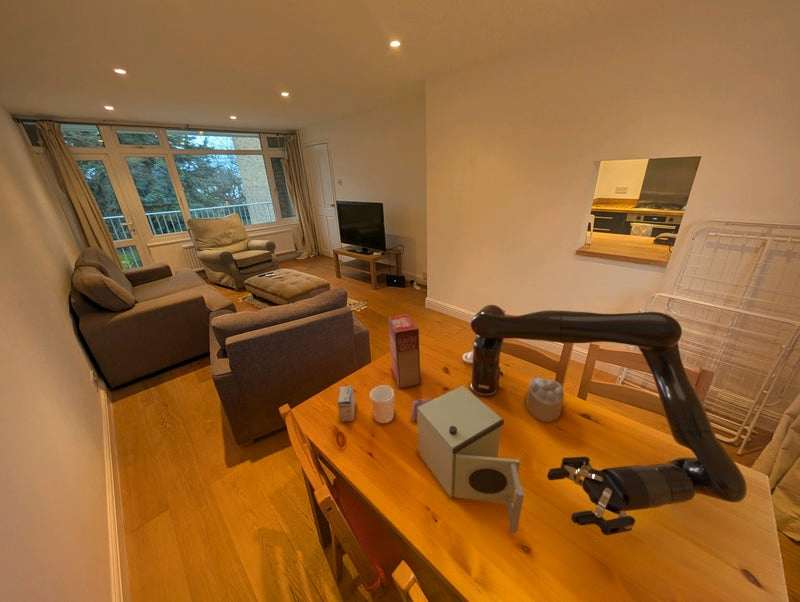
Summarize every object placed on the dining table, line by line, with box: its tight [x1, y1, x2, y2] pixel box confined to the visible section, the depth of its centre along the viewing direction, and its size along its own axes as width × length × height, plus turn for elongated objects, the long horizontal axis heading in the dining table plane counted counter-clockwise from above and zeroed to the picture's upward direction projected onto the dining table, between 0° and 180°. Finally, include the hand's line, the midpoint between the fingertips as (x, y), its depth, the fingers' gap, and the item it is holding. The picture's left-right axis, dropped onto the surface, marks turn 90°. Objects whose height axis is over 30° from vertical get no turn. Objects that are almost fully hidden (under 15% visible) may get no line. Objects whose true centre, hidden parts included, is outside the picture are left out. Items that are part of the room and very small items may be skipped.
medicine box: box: [337, 385, 356, 423], centre depth 100 cm, size 8×4×9 cm, turn 5°
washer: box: [416, 385, 505, 499], centre depth 80 cm, size 16×16×19 cm
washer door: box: [453, 454, 525, 534], centre depth 66 cm, size 14×8×14 cm, turn 82°
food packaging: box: [387, 313, 422, 390], centre depth 114 cm, size 13×9×25 cm
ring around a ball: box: [462, 349, 473, 365], centre depth 125 cm, size 8×6×8 cm
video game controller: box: [411, 398, 433, 423], centre depth 98 cm, size 10×5×7 cm, turn 84°
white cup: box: [369, 384, 395, 424], centre depth 98 cm, size 8×8×10 cm
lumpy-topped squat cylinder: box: [526, 377, 565, 423], centre depth 98 cm, size 10×13×9 cm
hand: (559, 495), depth 60 cm, fingers open, 8 cm apart
